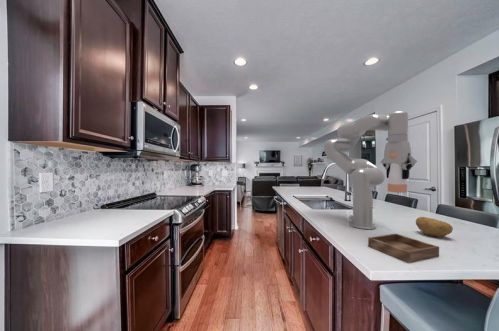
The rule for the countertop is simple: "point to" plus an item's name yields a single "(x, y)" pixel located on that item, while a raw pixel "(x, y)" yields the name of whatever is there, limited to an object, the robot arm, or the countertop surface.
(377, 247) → the walnut tray
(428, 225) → the potato
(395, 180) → the pepper shaker
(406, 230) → the countertop surface
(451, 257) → the countertop surface
